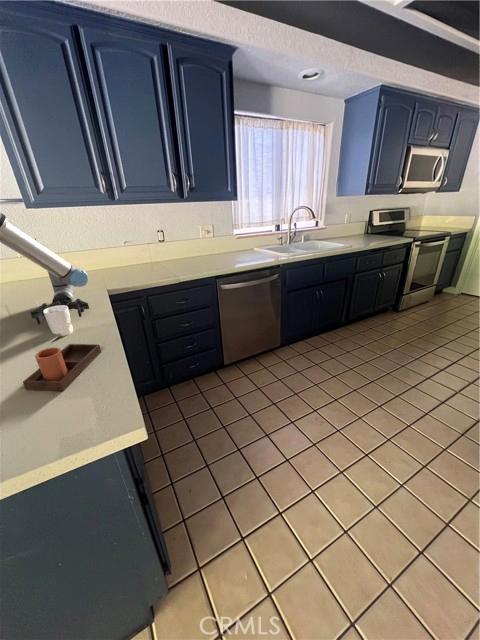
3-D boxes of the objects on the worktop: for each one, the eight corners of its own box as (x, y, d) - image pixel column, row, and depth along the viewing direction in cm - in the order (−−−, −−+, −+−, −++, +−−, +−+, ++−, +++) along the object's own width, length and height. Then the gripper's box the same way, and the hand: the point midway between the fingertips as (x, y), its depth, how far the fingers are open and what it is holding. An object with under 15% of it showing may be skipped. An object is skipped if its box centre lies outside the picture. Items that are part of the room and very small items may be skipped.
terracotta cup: (40, 385, 74) (29, 358, 70) (54, 372, 80) (45, 347, 76) (60, 385, 74) (50, 358, 70) (73, 373, 79) (64, 347, 76)
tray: (26, 390, 72) (22, 381, 71) (71, 351, 91) (69, 343, 89) (63, 391, 72) (60, 382, 71) (101, 352, 90) (99, 344, 89)
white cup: (78, 327, 107) (71, 304, 103) (70, 336, 100) (62, 312, 96) (56, 329, 106) (49, 305, 102) (47, 338, 99) (38, 314, 95)
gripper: (95, 303, 126) (97, 319, 109) (32, 312, 116) (23, 332, 99) (92, 288, 123) (93, 302, 106) (26, 296, 112) (16, 314, 95)
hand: (59, 317), depth 102 cm, fingers open, 13 cm apart
